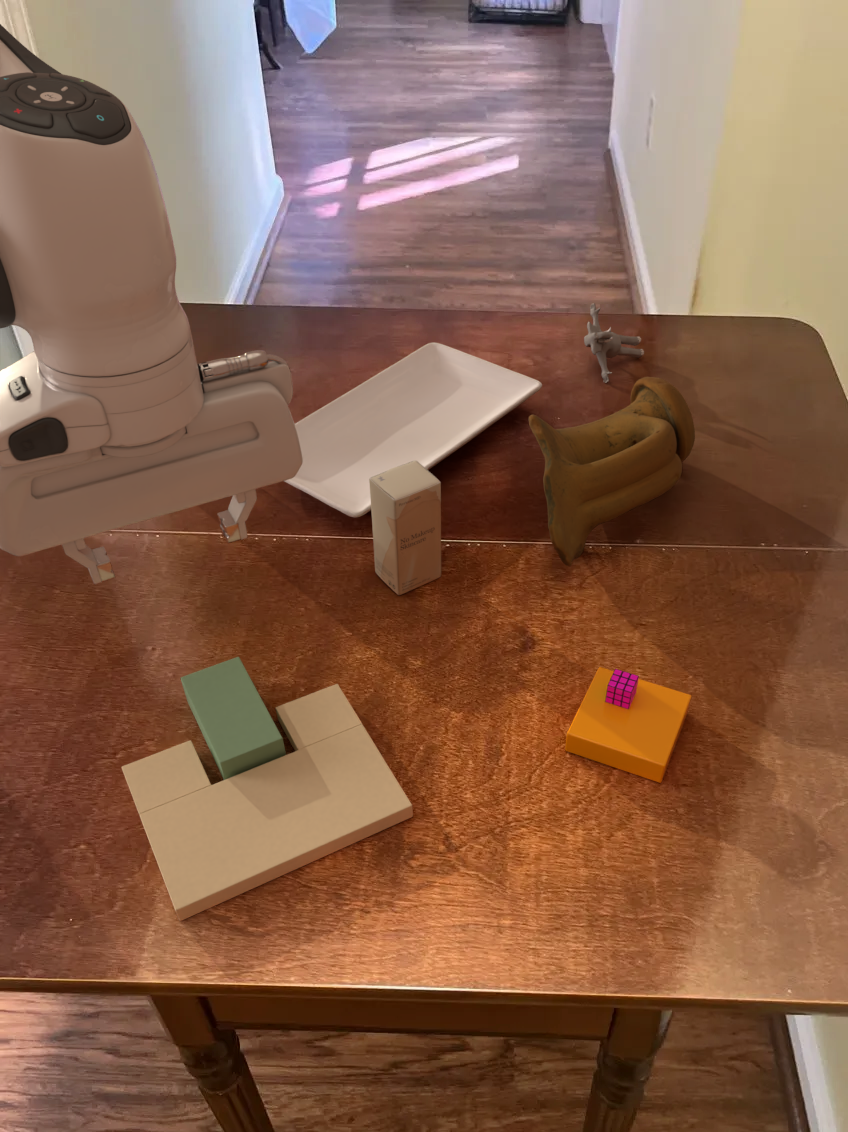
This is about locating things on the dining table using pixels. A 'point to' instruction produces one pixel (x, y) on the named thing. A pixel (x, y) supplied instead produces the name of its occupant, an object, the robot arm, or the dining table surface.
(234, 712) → the pad
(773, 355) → the dining table surface
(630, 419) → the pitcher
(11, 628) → the dining table surface
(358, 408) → the tray
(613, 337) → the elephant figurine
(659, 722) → the orange square pedestal
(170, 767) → the beige notched block
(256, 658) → the dining table surface
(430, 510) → the box
